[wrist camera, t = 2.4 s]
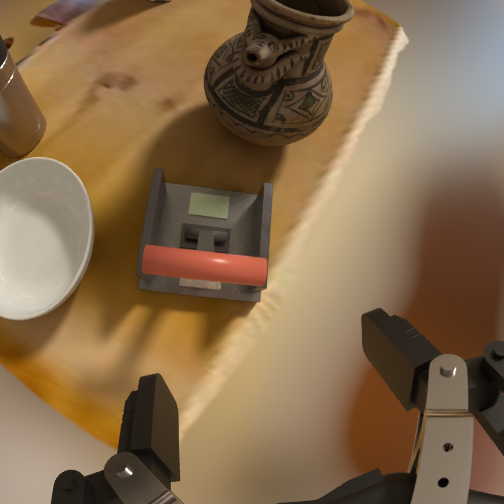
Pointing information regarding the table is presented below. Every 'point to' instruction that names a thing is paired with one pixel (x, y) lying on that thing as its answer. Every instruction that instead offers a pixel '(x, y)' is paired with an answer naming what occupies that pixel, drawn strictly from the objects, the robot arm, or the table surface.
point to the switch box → (207, 218)
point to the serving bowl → (42, 236)
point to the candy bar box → (159, 0)
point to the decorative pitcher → (276, 71)
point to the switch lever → (204, 261)
